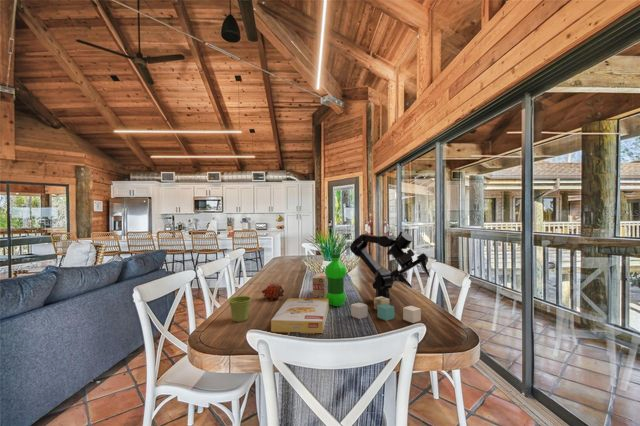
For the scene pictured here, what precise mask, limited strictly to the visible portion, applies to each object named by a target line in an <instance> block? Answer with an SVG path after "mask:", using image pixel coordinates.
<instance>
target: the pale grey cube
mask: <svg viewBox="0 0 640 426" xmlns="http://www.w3.org/2000/svg"><path fill="white" fill-rule="evenodd" d="M350 316H351V317H353V318H355V319H358V320H361V319H363V318H367V317H368V305H367V304H365V303H362V302H359V301H358V302H355V303H351V304H350Z"/></svg>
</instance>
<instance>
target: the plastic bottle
mask: <svg viewBox="0 0 640 426" xmlns="http://www.w3.org/2000/svg"><path fill="white" fill-rule="evenodd" d="M330 257H331V259H332V261H330V262H329V263H328V264H327V265H326V266H325V269H324V273H325V274H326V276H327V277H328V292H327V295H326V298H328V299H329V306H331V305H333V306H332V307H334V306H339V307H341V306H342V305H343V304H344V303H345V301H346V299H347V295H346V293H345V290H344V289H345V279H344V278H345V276H346V274H347V267H346V265H344V263H342V262H341V261H340V258H341V254H340V253H339V252H337V253H336V252H335V253H331V254H330ZM340 305H341V306H340Z"/></svg>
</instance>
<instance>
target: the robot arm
mask: <svg viewBox="0 0 640 426" xmlns="http://www.w3.org/2000/svg"><path fill="white" fill-rule="evenodd" d="M413 241H414V237H413V236H412V235H411V234H410V233H408V232H405V230H401V231H400V232H399V234H398V236H396V235H375V234H374V235H373V234H369V233H361V234H359V236H358V237H357V238H355V239H354V240H353V241H352V242H351V244H350V246H349V248H350V251H351V252H352V253H353V254H354V255H355V256H357V257H359V258H360V259H361V260H362V261H363V263H364V264H365V266H366V267H368V269H369V270H370V272H371V273H372V274H373V275H374V281H373V283H372V288H373V289H374V290H375V298H376V297H381V296H382V297H385V298H389V299H390V302H391V301H392V299H391V298H390V296H391V295H390V289H392V287H393V285H394V282H400V283H402V284H404V285H406V286H407V287H409V288H411V289H412V288H413V286H412V285H411V283H410V282H409V281H408V280H407V278H405V277H404V275H403V274H404V273H406V272H408V271H409V270H411V269H413V268H414V267H416V266H418V265H420V267H421V269H422V270H423V271H424V273H425V274H426V276H427V277H428V278H430V277H431V275H430V273H429V270H428V268H427V265H428V262H429V256H428V255H427V254H426V253H424V252H422V253H420V254H419V255H418V256H416V260H414V261H413V256H415V253H414V250H412V249H411V248H410V249H408V248H409V246H410V245H411V244H412V242H413ZM369 243H372V244H378V245H379V246H380V247H383V248H389V249H387V252H386V255H387V256H391V255H392V257H393V258H394V260H395V261H396V262H397V264H398V265H399V266H400V268H401V269H399V270H398V268H395V269H394V270H392V271H391V272H390V271H389V269H388V268H385V269H382V268H381V267H380V265H379V264H378V263H377V262H376V260H375V259H374V258H373V257H372V255H370V253H369V252H368V246H369ZM405 250H406V251H405Z"/></svg>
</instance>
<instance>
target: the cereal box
mask: <svg viewBox="0 0 640 426" xmlns="http://www.w3.org/2000/svg"><path fill="white" fill-rule="evenodd" d="M329 309H330V304H329V299H328V298H313V297H312V298H309V297H307V298H303V297H302V298H301V297H300V298H297V297H294V298H293V297H289V298H287V299H286V300H285V302H283V304H282V305H281V306H280V308H279V309H278V311H277V312H276V313H275V314H274V315H273V317H272V318H271V319H270V331H271V332H272V333H290V332H300V333H299V334H315V333H322V334H323V333H324V331H323V330H325V327H326V323H325V322H327V317H328V314H329ZM324 326H325V327H324Z"/></svg>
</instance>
